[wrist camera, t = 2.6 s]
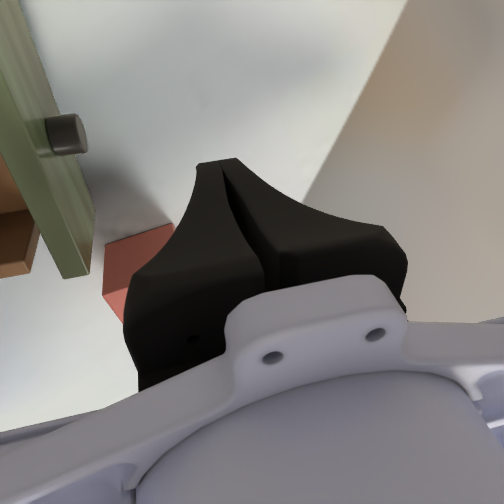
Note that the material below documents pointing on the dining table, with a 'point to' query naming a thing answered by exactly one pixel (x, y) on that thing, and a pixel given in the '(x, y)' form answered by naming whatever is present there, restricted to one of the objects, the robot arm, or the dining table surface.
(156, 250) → the block
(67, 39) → the dining table surface
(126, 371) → the dining table surface
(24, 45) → the drawer
